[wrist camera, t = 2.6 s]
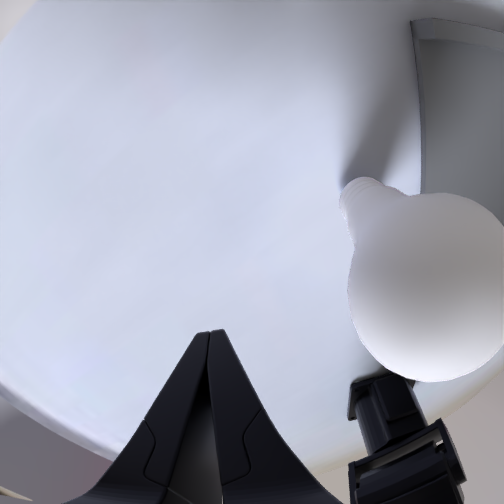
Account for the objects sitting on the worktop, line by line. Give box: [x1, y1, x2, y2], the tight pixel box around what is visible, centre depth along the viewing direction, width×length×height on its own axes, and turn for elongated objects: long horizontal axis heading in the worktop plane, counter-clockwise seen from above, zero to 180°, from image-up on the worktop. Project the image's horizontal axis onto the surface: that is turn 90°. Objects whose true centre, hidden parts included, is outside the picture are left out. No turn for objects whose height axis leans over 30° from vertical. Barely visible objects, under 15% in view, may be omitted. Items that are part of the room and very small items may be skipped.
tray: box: [410, 18, 504, 226], centre depth 15 cm, size 18×11×2 cm, turn 10°
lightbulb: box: [339, 177, 504, 382], centre depth 11 cm, size 6×6×11 cm
